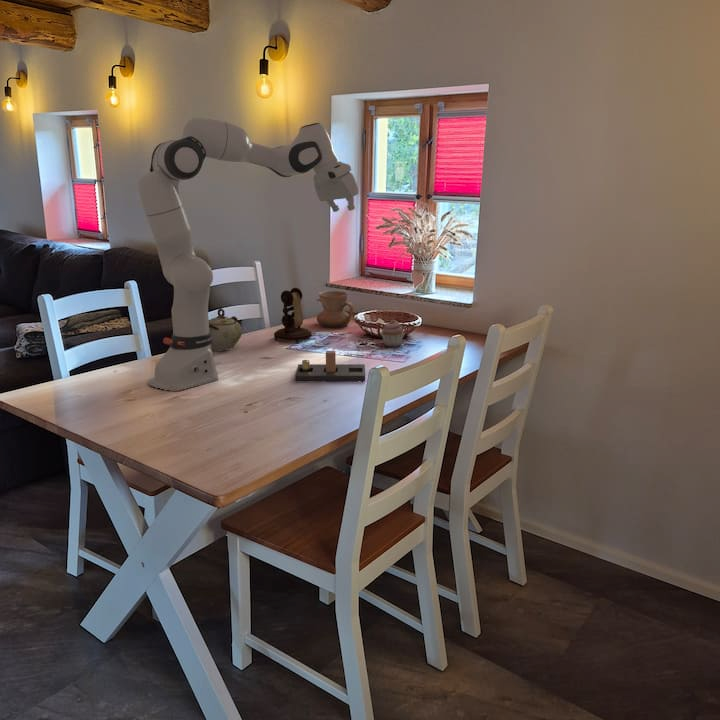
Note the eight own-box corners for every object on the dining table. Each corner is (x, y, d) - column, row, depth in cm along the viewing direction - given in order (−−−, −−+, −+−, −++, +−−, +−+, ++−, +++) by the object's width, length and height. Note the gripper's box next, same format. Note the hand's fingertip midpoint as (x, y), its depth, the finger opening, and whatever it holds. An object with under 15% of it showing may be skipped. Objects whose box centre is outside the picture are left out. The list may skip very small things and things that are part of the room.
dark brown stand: (299, 345, 235) (298, 293, 230) (266, 341, 242) (264, 290, 236) (318, 337, 248) (317, 287, 242) (286, 333, 254) (285, 284, 249)
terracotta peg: (326, 377, 199) (325, 353, 196) (326, 374, 202) (326, 350, 199) (335, 377, 199) (335, 353, 196) (335, 374, 202) (335, 350, 199)
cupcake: (375, 345, 235) (376, 320, 232) (387, 340, 243) (388, 315, 240) (397, 349, 231) (398, 323, 228) (409, 343, 238) (409, 318, 235)
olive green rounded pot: (222, 339, 244) (219, 302, 239) (254, 344, 238) (252, 305, 233) (189, 352, 226) (186, 312, 222) (223, 357, 220) (220, 316, 216)
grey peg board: (295, 381, 194) (294, 366, 193) (298, 370, 206) (298, 355, 204) (365, 381, 194) (365, 366, 193) (364, 370, 206) (364, 355, 205)
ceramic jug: (307, 326, 266) (307, 293, 262) (327, 319, 278) (326, 288, 273) (342, 332, 257) (342, 298, 253) (361, 325, 269) (361, 292, 264)
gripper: (305, 178, 214) (321, 215, 220) (338, 172, 197) (354, 212, 203) (319, 171, 217) (334, 208, 222) (353, 164, 200) (368, 204, 206)
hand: (344, 210), depth 213 cm, fingers open, 8 cm apart
